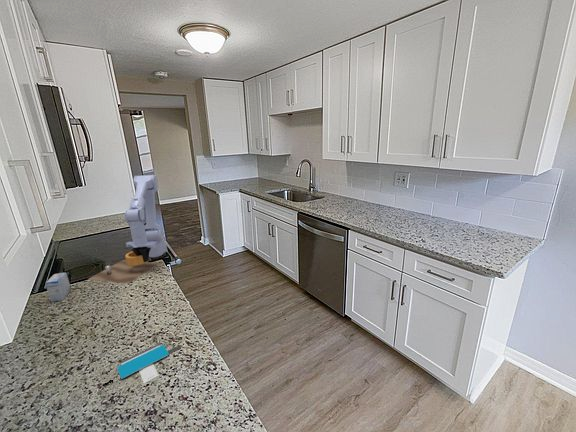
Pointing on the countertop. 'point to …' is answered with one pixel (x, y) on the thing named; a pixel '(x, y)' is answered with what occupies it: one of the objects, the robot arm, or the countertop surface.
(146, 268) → the walnut board
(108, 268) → the hook post
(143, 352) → the blue panel with block
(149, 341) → the countertop surface
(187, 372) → the countertop surface
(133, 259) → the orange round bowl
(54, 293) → the medicine box
